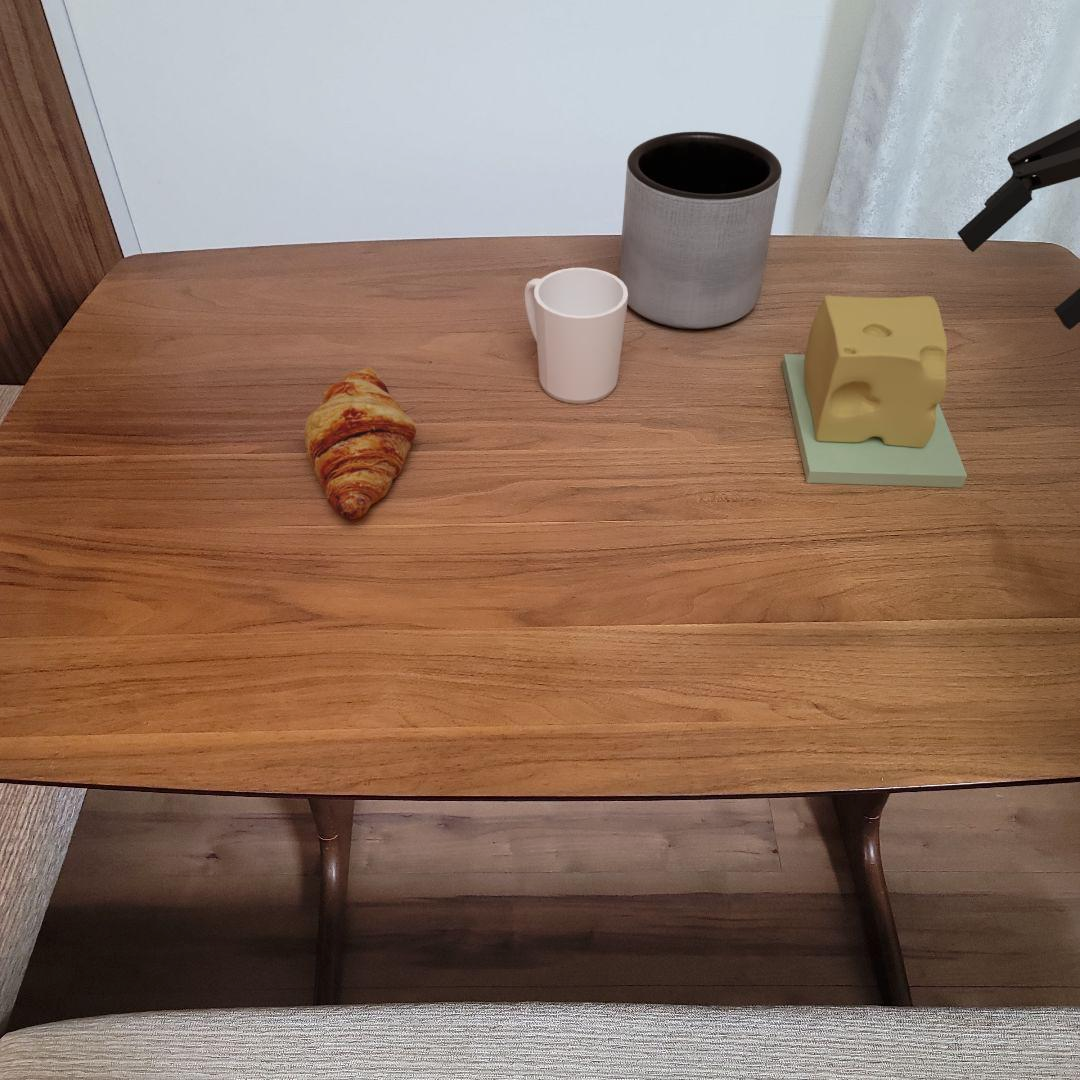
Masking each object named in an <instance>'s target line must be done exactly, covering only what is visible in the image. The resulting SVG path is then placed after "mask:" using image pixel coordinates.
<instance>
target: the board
mask: <svg viewBox="0 0 1080 1080" xmlns="http://www.w3.org/2000/svg"><path fill="white" fill-rule="evenodd" d="M804 359H805V354H798V353H784V354H783V356H782V361H781V369H782V375H783V379H784V384H785V388H786V394H787V397H788V402H789V407H790V411H791V417H792V421H793V426H794V430H795V435H796V439H797V445H798V450H799V454H800V458H801V462H802V467H803V473H804V477H805V481H806V483H807V484H829V485H830V484H833V485H860V486H861V485H862V486H863V485H865V486H890V487H891V486H892V487H893V486H895V487H921V488H922V487H924V488H955V489H957V488H958V489H962V488H963V487H964V484H965V483H966V481H967V478H968V474H967V471H966V469H965V466H964V464H963V461H962V459H961V456H960V453H959V451H958V448H957V445H956V443H955V441H954V438H953V436H952V432H951V431H950V428H949V425H948V422H947V420H946V418H945V415H944V413H943V410H942V408H941V405H940V403H938V405H937V407H936V424H935V429H934V432H933V434H932V436H931V438H930V440H929V441H928V443H927V444H926V445H925V447H923V448H916V447H907V446H895V445H887V444H884V443H883V440H882V439H881V438H879V437H876V436H873V437H870V438H868V439H867V440H865V441H861V442H853V443H852V442H822V441H817V440H816V436H815V430H814V423H813V417H812V412H811V408H810V404H809V401H808V397H807V393H806V388H805V382H804Z"/></svg>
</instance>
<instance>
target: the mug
mask: <svg viewBox="0 0 1080 1080" xmlns="http://www.w3.org/2000/svg"><path fill="white" fill-rule="evenodd" d="M523 293H524V306H525V311H526V315H527V316H526V317H527V320H528V323H529V326H530V329H531V332H532V335H533V338H534V340H535V342H536V347H537V349H536V350H537V363H538V378H539V381H538V382H539V385H540V386H541V388H542V390H543V391H544V392H545V393H546V394H547V395H548V396H549V397H551V398H553V399H554V400H557V401H559V402H563V403H565V404H571V405H572V404H573V405H586V404H592V403H596V402H598V401H601V400H604V399H605V398H607V397H608V396H610V395H611V394H612V393H613V391H614V390H615V389H616V387H617V385H618V380H619V373H620V364H621V356H622V348H623V340H624V333H625V325H626V317H627V310H628V309H627V308H628V304H627V301H628V291H627V287H626V286H625V284H624V283H623V281H621V280H620V279H619V278H618V276H616V275H615V274H612V273H610V272H608V271H605V270H601V269H597V268H592V267H569V268H562V269H559V270H556V271H551V272H550V273H549V274H547V275H544V276H543V277H541V278H539V277H538V278H537V277H535V278H532V279H531V280H528V281H527V283H526V285H525V288H524V290H523Z"/></svg>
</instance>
